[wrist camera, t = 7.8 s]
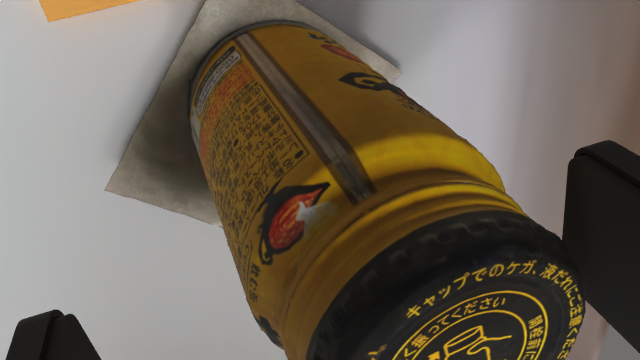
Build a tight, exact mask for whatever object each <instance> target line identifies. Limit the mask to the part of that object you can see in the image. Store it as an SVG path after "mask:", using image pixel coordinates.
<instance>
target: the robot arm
mask: <svg viewBox="0 0 640 360" xmlns="http://www.w3.org/2000/svg"><path fill="white" fill-rule="evenodd" d="M562 242H563V243H565V245H566V247H567V250H568V253H569V256H570V258H571V260H572V261H573V262H574V263H575V264H576V266H577V268H578V269H579V271H580V273H581V276H582V280H583V284H584V289H585V300H586V301H587V302H588V303H589V304H590V305H591V306H592V307H593V308H594V309H595V310H596V311H597V312H598V313H599V314H600V315H601V316H602V317H603V318H604V319H605V320H606V321H607V322H608V323H609V324H610V325H612V327H613V328H614V329H615V330H617V332H619V333H620V334H621V335H622V336H623V337H624V338H625V339H626V340H627V341H628V342H629V343H630V344H631V345H632V346H633V347H634V348H635V349H636V350H637V351H638V352H639V353H640V156H638V155H636V154H635V153H633V152H631V151H630V150H628V149H626V148H624V147H623V146H621V145H619V144H617V143H616V142H613V141H610V140H607V141H602V142H599V143H596V144H593V145H589V146H586V147H583V148H580V149H578V150H577V151H576V153H575V154H574V158H573V159H571V160H570V162H569V164H568V173H567V185H566V198H565V210H564V223H563V236H562ZM6 360H101V358H100V357H99V355H98V353H97V352H96V350H95V348H94V347H93V345H92V343H91V342H90V340H89V338H88V337H87V335H86V333H85V332H84V330H83V328H82V327H81V325H80V323H79V321H78V320H77V318H76V317H75V316H74V315H73V314H68V315H65V316H64V315H63V313H62V312H61V311H59V310H52V311H48V312H45V313H42V314H39V315H35V316H32V317H29V318H26V319H22V320H21V321H20V322H19V323H18V325H17V327H16V330H15V333H14V336H13V339H12V342H11V345H10V348H9V351H8V354H7V357H6Z"/></svg>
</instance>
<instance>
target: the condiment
mask: <svg viewBox="0 0 640 360" xmlns="http://www.w3.org/2000/svg"><path fill="white" fill-rule="evenodd" d="M401 73H402V71H401V70H400V69H398V68H397V67H395V66H394V65H392V64H391V63H389V62H388V61H386V60H385V59H383V58H381V57H380V56H379V55H377V54H375V53H374V52H372V51H371V50H369V49H368V48H366V47H365V46H363V45H362V44H360V43H359V42H357V41H356V40H354V39H353V38H351V37H350V36H348V35H347V34H345V33H344V32H342V31H341V30H339V29H338V28H336V27H335V26H333V25H332V24H330V23H329V22H327V21H326V20H324V19H323V18H321V17H320V16H318V15H316V14H315V13H313V12H312V11H310V10H309V9H307V8H306V7H304V6H303V5H301V4H300V3H298V2H297V1H295V0H206V1H205V3H204V5H203V7H202V9H201V10H200V12H199V14H198V16H197V18H196V20H195V22H194V24H193V26H192V28H191V29H190V31H189V32H188V34H187V36H186V38H185V40H184V42H183V43H182V45H181V47H180V49H179V51H178V53H177V55H176V57H175V59H174V60H173V62H172V64H171V66H170V68H169V70H168V72H167V74H166V76H165V78H164V80H163V81H162V83H161V85H160V87H159V89H158V91H157V93H156V95H155V97H154V99H153V101H152V103H151V105H150V107H149V109H148V110H147V112H146V113H145V115H144V117H143V119H142V121H141V123H140V124H139V126H138V128H137V130H136V132H135V133H134V135H133V137H132V138H131V140H130V142H129V145H128V146H127V148H126V150H125V152H124V154H123V157H122V159H121V161H120V163H119V165H118V167H117V168H116V170H115V172H114V173H113V175H112V177H111V179H110V181H109V183H108V184H107V186H106V188H105V191H109V192H112V193H115V194H118V195H121V196H124V197H129V198H134V199H137V200H140V201H142V202H146V203H149V204H152V205H155V206H159V207H161V208H164V209H167V210H170V211H173V212H177V213H180V214H184V215H187V216H189V217H192V218H195V219H198V220H200V221H203V222H206V223H209V224H216V225H218V226H219V227H221V228H223V229H224V232H225V235H226V238H227V242H228V246H229V248H230V251H231V253H232V256H233V259H234V262H235V264H236V268H237V271H238V274H239V277H240V280H241V283H242V286H243V289H244V292H245V294H246V300H247V302H248V304H249V307H250V309H251V311H252V314H253V316H254V318H255V320H256V321H257V323H258V325H259V326H260V328H261V330H262V331H264V332H265V333H266V335H267V336H268V337H269V338H270V340H271V341H272V342H273V343H274V344H275V345H277V346H278V347H280V348H281V349H284V350H285V354H286V356H287V359H288V360H565V359H566V357H567V355H568V353H569V352H570V350H571V348H572V347H573V345H574V342H575V340H576V336H577V334H578V333H579V328H580V326H581V324H582V322H583V318H584V314H585V289H584V284H583V280H582V276H581V273H580V271H579V269H578V268H577V266H576V264H575V263H574V262H573V261H572V260H571V258H570V256H569V253H568V250H567V247H566V245H565V243H563V242H562V240H561V239H560V238H559V237H558V236H557V235H556V234H554V233H552V232H550V231H548V230H546V229H545V228H544V227H542V226H541V225H539V224H537V223H536V222H535V221H533V220H532V219H530V218H529V216H527V215H526V214H525V213H523V211H522V209H521V208H520V206H519V205H518V204H517V203H516V202H515V201H514V200H513V199H512V198H511V197H510V196H509V195H507V194H506V192H505V188H504V186H503V183H502V180H501V177H500V175H499V174H498V173H497V171H496V170H495V168H494V166H493V165H492V164H491V163H490V162H489V161H488V160H487V159H486V158H485V157H484V156H483V155H482V154H481V153H480V152H479V151H478V150H477V149H476V148H475V147H474V146H473V145H471V144H470V143H469V142H468V141H467V140H466V139H464V138H462V137H460V136H459V135H457V134H456V133H455V132H454V131H453V130H452V129H450V128H449V127H448V126H447V125H446V124H444V123H443V122H442V121H440V120H439V119H438V118H436V117H435V116H433V115H432V114H431V113H430V112H428V111H427V110H426V109H424V108H423V107H422V106H420V105H419V104H417V103H416V102H415V101H414V100H413V99H411V98H410V97H408V96H407V95H406V94H405V92H403V91H402V90H401V89H400V88H398V87H396V86H394V85H392V83H393V82H394V81H395V79H396V78H397V77H398V76H399V75H400V74H401Z"/></svg>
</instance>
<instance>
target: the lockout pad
mask: <svg viewBox="0 0 640 360" xmlns="http://www.w3.org/2000/svg"><path fill="white" fill-rule="evenodd" d="M39 1H40V3H41V6H42V8H43V10H44V12H45V15H46V17H47V19H48V21H49V22H52V21H56V20H60V19H64V18H68V17H72V16H76V15H81V14H85V13H89V12H93V11H97V10H101V9H105V8H110V7H114V6H118V5H122V4H126V3H130V2H134V1H139V0H39Z"/></svg>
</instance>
